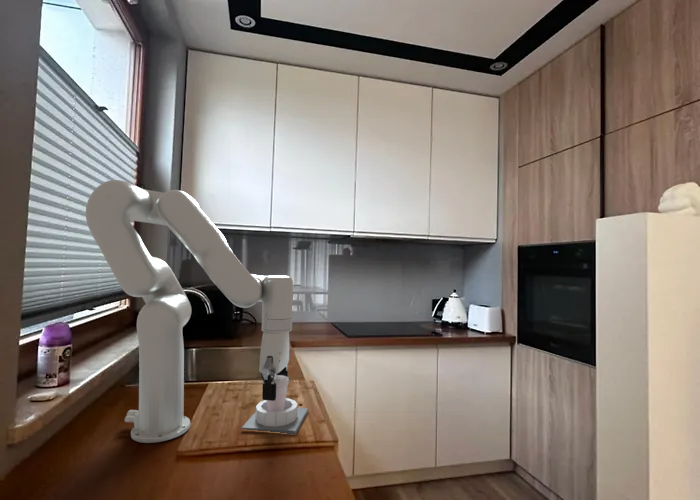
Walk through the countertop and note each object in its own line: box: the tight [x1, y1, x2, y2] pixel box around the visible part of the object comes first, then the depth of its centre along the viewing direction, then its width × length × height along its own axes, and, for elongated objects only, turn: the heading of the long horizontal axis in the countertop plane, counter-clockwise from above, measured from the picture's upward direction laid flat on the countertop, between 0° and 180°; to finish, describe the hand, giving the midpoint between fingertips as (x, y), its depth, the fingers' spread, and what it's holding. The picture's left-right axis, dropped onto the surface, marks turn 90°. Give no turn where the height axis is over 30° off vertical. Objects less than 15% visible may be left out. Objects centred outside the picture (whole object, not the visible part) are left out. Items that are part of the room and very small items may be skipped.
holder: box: [241, 397, 309, 436], centre depth 96 cm, size 13×13×4 cm
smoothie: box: [266, 375, 290, 412], centre depth 95 cm, size 6×6×14 cm
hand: (275, 392), depth 96 cm, fingers open, 9 cm apart
